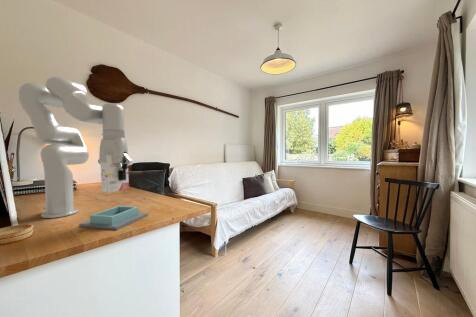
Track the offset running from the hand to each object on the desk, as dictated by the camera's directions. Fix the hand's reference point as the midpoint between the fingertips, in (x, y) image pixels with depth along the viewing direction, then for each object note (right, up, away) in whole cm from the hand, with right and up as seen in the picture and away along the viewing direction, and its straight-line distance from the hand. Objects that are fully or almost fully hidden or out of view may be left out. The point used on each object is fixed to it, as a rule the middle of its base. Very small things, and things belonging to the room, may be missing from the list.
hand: (115, 179), depth 83 cm
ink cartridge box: (0, -5, 0) cm, 5 cm away
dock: (0, -17, +1) cm, 17 cm away
